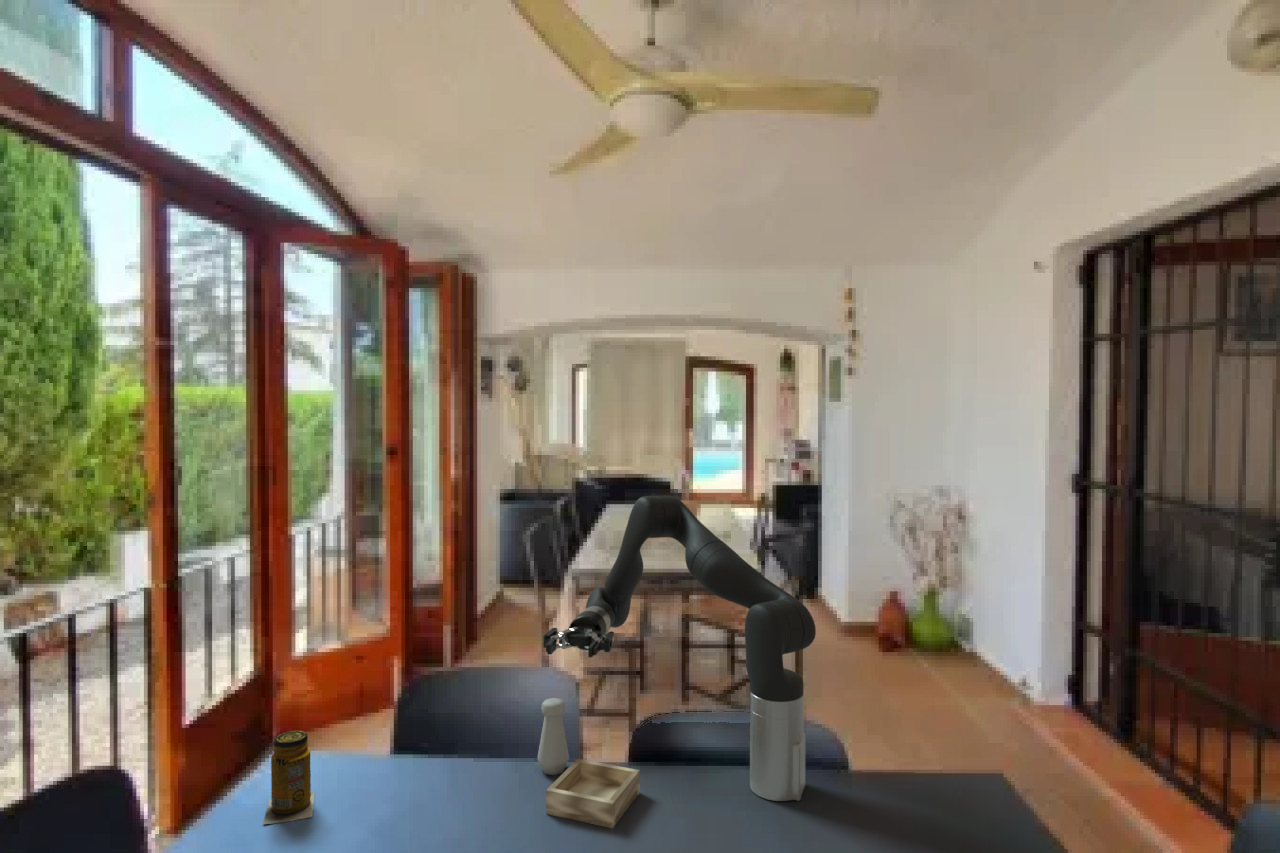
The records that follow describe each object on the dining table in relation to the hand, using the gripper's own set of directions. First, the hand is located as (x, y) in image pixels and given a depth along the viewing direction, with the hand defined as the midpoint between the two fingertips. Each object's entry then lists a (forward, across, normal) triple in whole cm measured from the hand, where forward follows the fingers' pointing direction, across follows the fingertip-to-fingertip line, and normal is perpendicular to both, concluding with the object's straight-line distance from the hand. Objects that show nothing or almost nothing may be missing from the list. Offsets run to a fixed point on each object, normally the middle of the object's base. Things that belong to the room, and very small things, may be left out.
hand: (569, 651), depth 151 cm
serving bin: (+21, +11, +18) cm, 30 cm away
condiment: (+33, -39, +19) cm, 54 cm away
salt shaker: (+11, 0, +19) cm, 22 cm away
